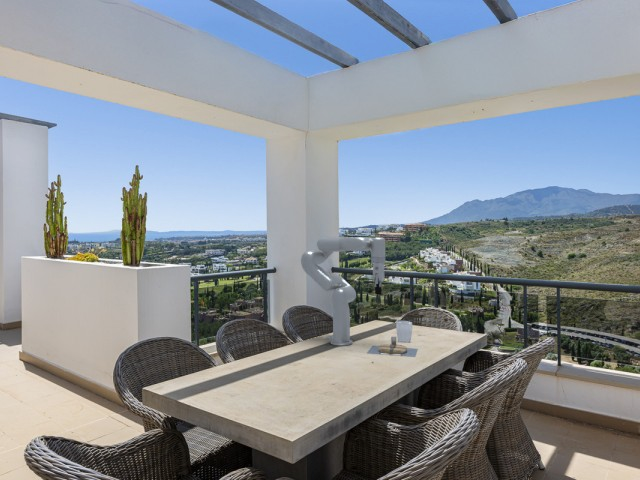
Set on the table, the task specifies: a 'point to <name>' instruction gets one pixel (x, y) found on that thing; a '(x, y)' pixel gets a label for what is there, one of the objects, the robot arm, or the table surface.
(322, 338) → the table surface
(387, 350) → the crank wheel
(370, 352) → the blue-grey base board
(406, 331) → the cup
